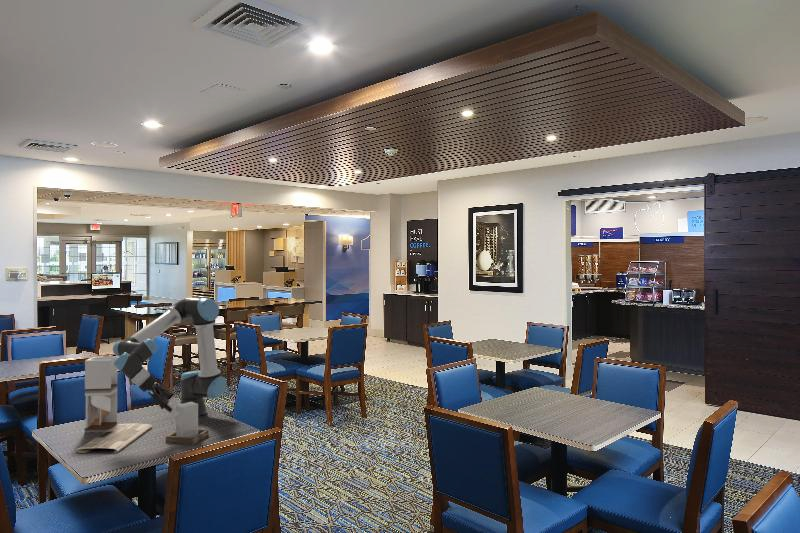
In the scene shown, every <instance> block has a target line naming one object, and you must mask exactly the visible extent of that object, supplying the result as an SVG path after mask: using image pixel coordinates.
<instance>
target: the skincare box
mask: <svg viewBox="0 0 800 533" xmlns="http://www.w3.org/2000/svg"><path fill="white" fill-rule="evenodd" d="M175 409H176V410H177V411H178V412H179V414H178V415H177V416H176V417H175V423H176V424H175V432H176V437H187V438H193V437H195V436H197V435H198V429H199V416H198V404H197V403H194V402H188V403H184V404H179V405H176V407H175Z"/></svg>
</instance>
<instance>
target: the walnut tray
mask: <svg viewBox="0 0 800 533" xmlns="http://www.w3.org/2000/svg"><path fill="white" fill-rule="evenodd" d="M208 436H209V429H204V428H203V429H200V428H198V435H197V436H195V437H193V438H187V437H176V431H174V432H172V433H170V434H168V435H166V436H165V444H166V443H168V444H177V443H179V444H181V445H189V446H190V445H192V446H193V445H195V444H197V443H198V442H200V441H201V440H203V439H205V438H207V437H208ZM179 444H178V445H179Z"/></svg>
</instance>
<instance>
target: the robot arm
mask: <svg viewBox="0 0 800 533" xmlns="http://www.w3.org/2000/svg"><path fill="white" fill-rule="evenodd" d="M219 314H220V308H219V304H218V303H217V301H215V300H214V299H212V298H208V297H194V296H192V297H191V296H189V297H185V298H183V299H180V300H178V301H177V302H175V303H173V304H172V305H171V306H169V307H168V308H166V311H165V312H164V313H163V314H161V315H160V316H158V317H157V318H155V319H154V320H152V321H151V322H149V323H148V324H147V325H145V326H144V327H143V328H141V329H139V330H138V331H137V332H135V333H134V334H132V335H131V336H130V337H128V338H126V339H125V340H118V341H116V342H115V343H114V345H113V346H112V352H113V354H114V356H118V359H117V360H116V361H115V362H114V366H115V367H116V368H117V371H119V372H120V373H122V374H123V375H124V377H126V378H127V379H129V380H130V382H131V384H132V385H133V384H134V385H135V386H136V387H137V386H138V388H139V389H140V390H141V391H142V392H143V393H146V392H147V391H148V392H147V394H148V395H149V396H150V397H151V398H152V399H153V400H154V401H155V403H156V404H157V405H158V406H159V407H160V409H161V410H163V409H164V410H165V411H166V412H168V413H169V414H170V415H171V416H172V417H173V418H175V419H176V416H177V415H178V414H179V412H178V411H177V410H176V405H179V404H184V403H188V402H194V403H197V404H198V417H201V416H204V415H206V414H207V412H208V409H207V405H206V402H205V399H204V398H208V399H218V398H220V397H221V396H223V395H224V393H225V392H226V389H227V384H228V383H227V380H226V378H225V377H224V376H222V371H221V370H220V369H219V368H218V363H217V362H218V361H217V350H216V343H215V333H214V324H215V323H216V319H217V318H218V317H219ZM185 320H191V324H192V326H193V327H195V332H196V342H197V351H198V352H197V353H198V360H199V361H198V362H199V369H200V370H191V371H187V372H183V373H182V374H181V376H180V401H179V400H178V399H177V398H175V397H174V396H175V394H174V393H172V392H171V391H169V390H168V389H166V388H165V387H163V386H162V385H160V384H159V383H158V382H157V381H158V380H157V378H155V377H154V375H151V373H150V372H149V371H148V370H147V369H146V368H144V367H143V366H142V365H144V364H145V362H147V360H149V358H151V357H152V356H154V354H155V353H156V352H157V351H158V345H157V343H156V342H155V341H154V340H155V339H156V338H157V337H159V336H160V335H161V334H162V333H164V332H165V331H168V329H169V328H171V327H173V326H174V325H175V324H180V323H181V322H183V321H185ZM166 399H167V400H168V402H169V403H168V402H167V400H166ZM170 403H171V404H170ZM173 406H174V407H173Z"/></svg>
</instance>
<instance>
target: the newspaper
mask: <svg viewBox="0 0 800 533" xmlns="http://www.w3.org/2000/svg"><path fill="white" fill-rule="evenodd" d="M152 428H153V425H151V424H149V423H138V422H137V423H135V422H134V423H133V422H132V423H119V424H118V423H117V425H116V426H114V427H113V428H111V429H109V430H108V431H106V432H102V433H101V434H100V435H98V436H96V437H95V438H93V439H92V440H91V441H89V442H87V443H85V444H84V445H82V446H80V447H79V448H77V449H75V450H76V451H75V452H76V453H77V454H79V453H80V454H81V453H83V454H84V453H89V452H90V451H92V450H93V449H110V450H114V451H113V453H119V452H120V451H122V450H123V449H124V448H125V447H128V445H131V443H132V442H134V441H135V440H136V439H139V437H141V436H142V435H143V434H145V433H146V432H148V431H149V430H151V429H152Z"/></svg>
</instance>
